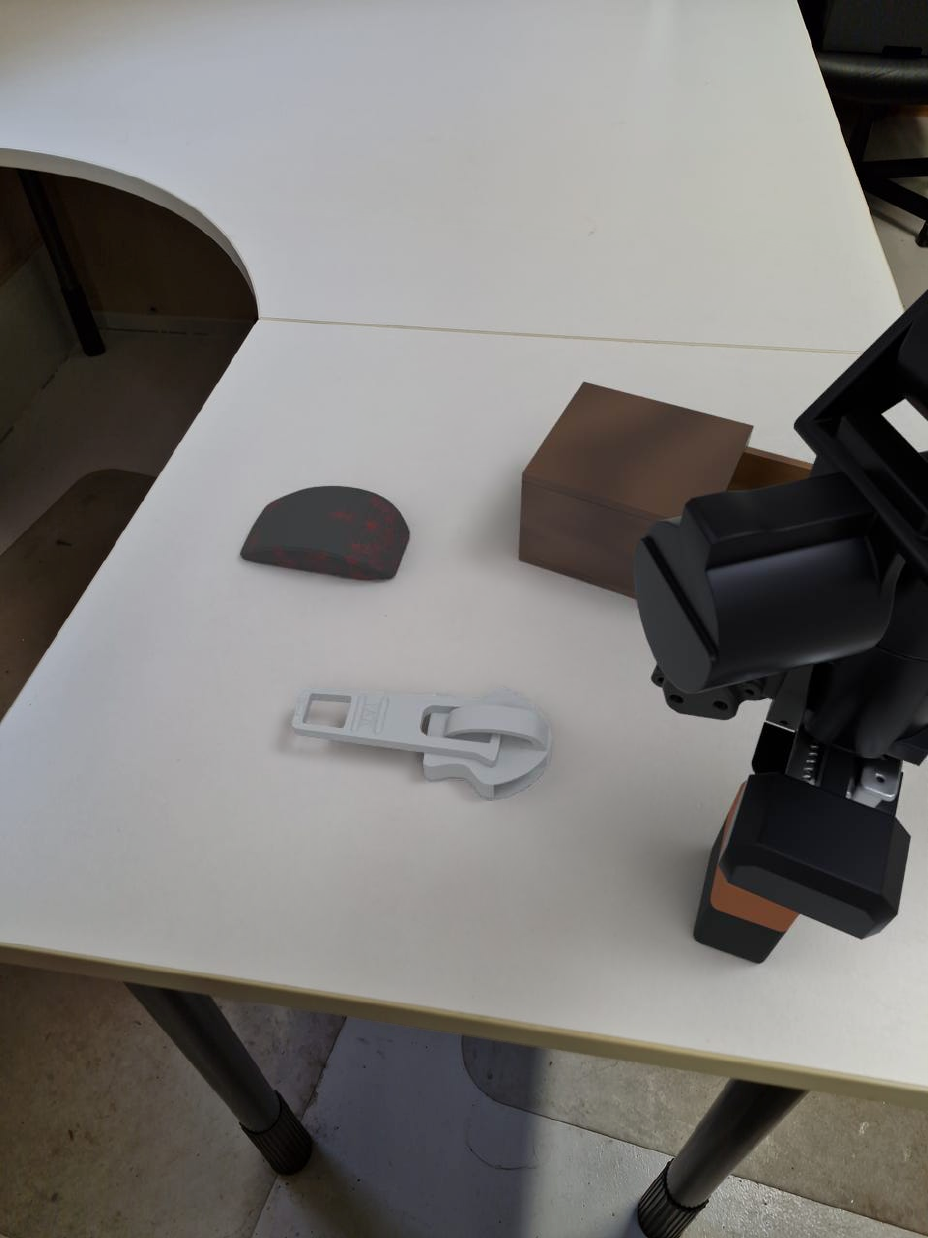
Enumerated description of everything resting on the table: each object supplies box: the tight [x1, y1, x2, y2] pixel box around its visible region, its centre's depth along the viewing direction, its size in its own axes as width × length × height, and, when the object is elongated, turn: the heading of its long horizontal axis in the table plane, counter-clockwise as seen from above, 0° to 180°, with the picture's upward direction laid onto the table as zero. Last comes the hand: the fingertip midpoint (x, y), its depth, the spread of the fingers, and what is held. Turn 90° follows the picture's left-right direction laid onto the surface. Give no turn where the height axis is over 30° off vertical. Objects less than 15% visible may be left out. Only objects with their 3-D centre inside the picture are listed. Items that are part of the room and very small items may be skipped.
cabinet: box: [518, 381, 755, 600], centre depth 71 cm, size 15×13×10 cm
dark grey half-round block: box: [239, 485, 411, 580], centre depth 73 cm, size 8×14×4 cm, turn 77°
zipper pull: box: [291, 686, 554, 801], centre depth 60 cm, size 8×18×4 cm, turn 83°
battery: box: [692, 780, 801, 965], centre depth 50 cm, size 4×7×10 cm, turn 159°
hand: (793, 802), depth 43 cm, fingers closed
